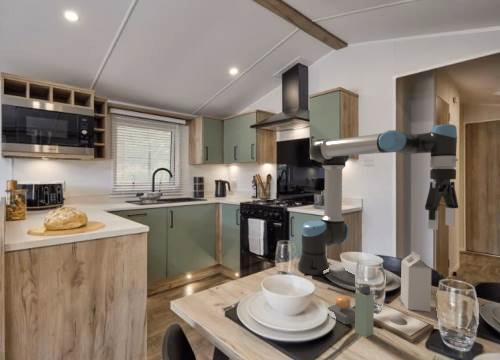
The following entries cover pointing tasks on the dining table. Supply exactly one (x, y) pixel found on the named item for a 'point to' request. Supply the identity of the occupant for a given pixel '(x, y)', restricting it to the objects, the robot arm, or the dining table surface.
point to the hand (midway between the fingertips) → (441, 227)
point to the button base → (343, 314)
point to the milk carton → (415, 283)
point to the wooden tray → (401, 324)
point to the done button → (343, 301)
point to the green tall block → (364, 311)
